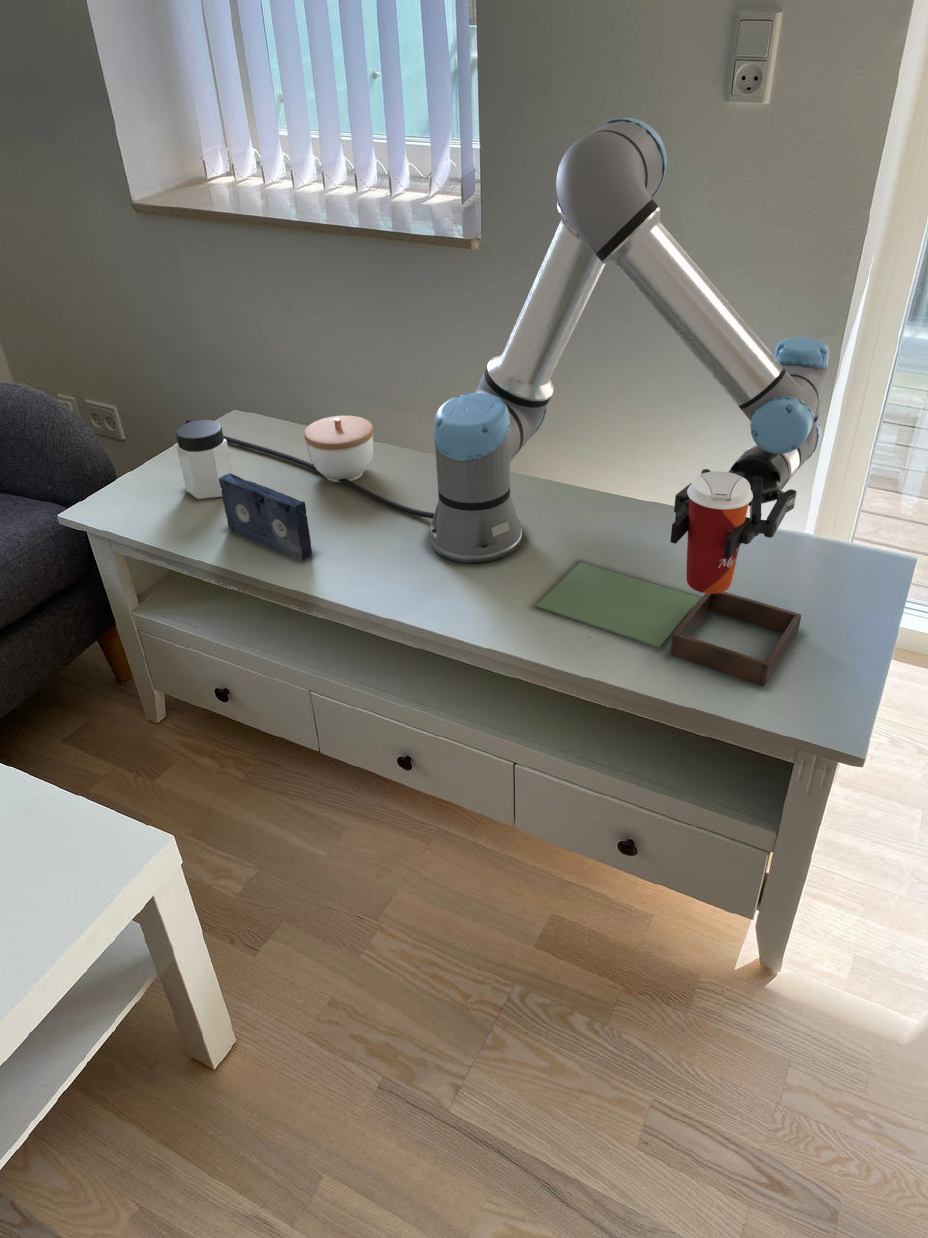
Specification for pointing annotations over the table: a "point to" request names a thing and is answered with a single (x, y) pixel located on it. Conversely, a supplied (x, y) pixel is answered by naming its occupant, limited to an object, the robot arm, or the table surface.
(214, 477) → the jar
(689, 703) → the table surface
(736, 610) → the crate
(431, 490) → the table surface
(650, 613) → the mat
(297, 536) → the vhs cassette tape
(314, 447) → the lidded bowl
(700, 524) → the coffee cup
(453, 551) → the robot arm
